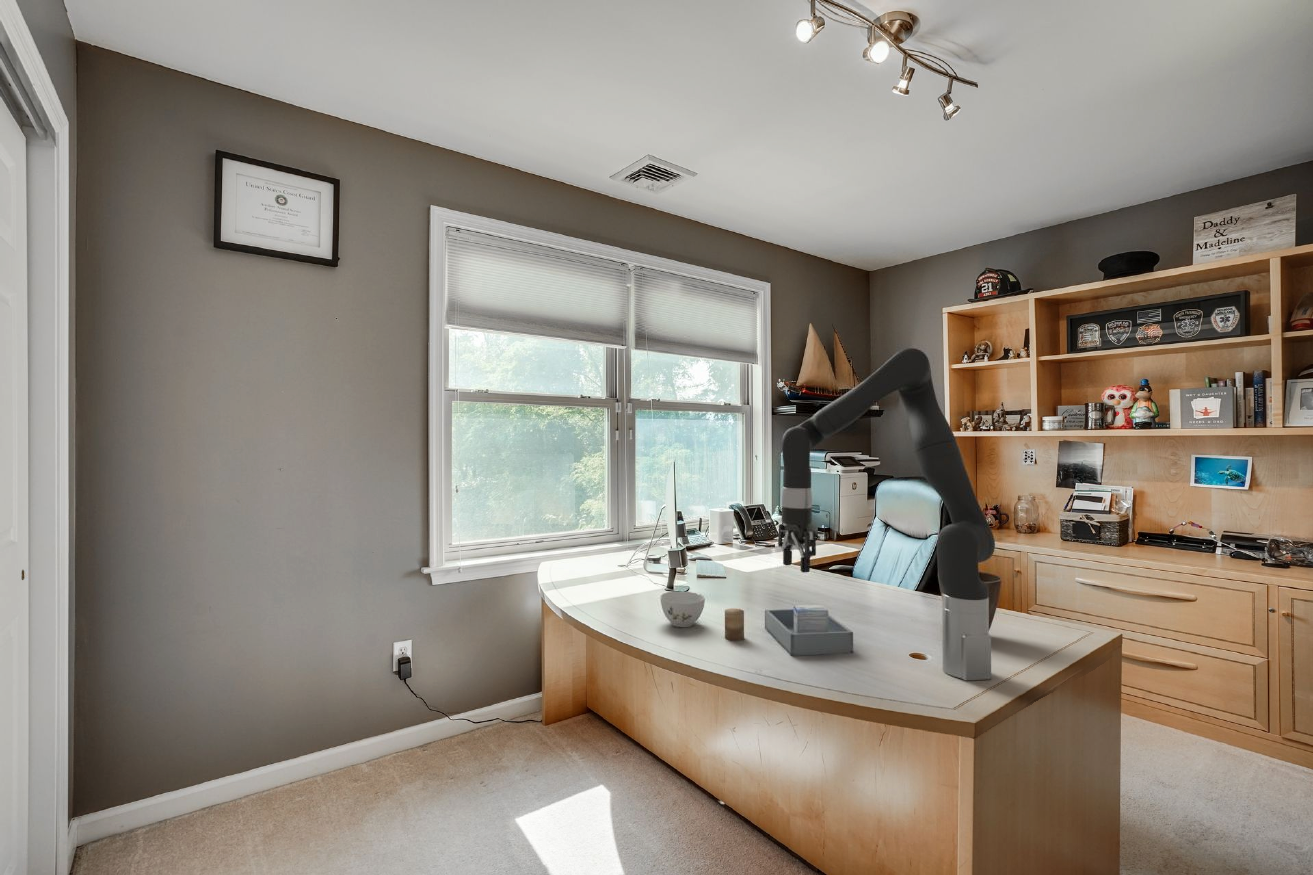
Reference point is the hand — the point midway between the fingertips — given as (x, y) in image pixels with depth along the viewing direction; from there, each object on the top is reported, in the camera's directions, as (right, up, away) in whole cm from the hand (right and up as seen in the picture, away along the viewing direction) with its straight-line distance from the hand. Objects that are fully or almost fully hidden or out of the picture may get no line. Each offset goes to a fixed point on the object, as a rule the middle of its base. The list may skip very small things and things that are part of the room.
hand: (796, 568), depth 159 cm
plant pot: (+46, -19, +4) cm, 50 cm away
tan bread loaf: (-15, -19, +4) cm, 25 cm away
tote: (+3, -19, +2) cm, 19 cm away
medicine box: (+3, -18, -1) cm, 19 cm away
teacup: (-28, -19, +16) cm, 38 cm away
